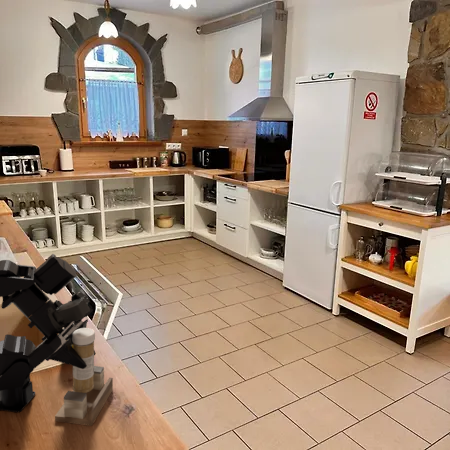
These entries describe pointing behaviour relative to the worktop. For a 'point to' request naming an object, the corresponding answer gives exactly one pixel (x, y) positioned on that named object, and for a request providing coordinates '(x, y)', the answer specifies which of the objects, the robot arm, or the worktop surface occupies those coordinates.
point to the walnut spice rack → (86, 401)
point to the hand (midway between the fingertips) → (89, 361)
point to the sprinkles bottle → (85, 349)
